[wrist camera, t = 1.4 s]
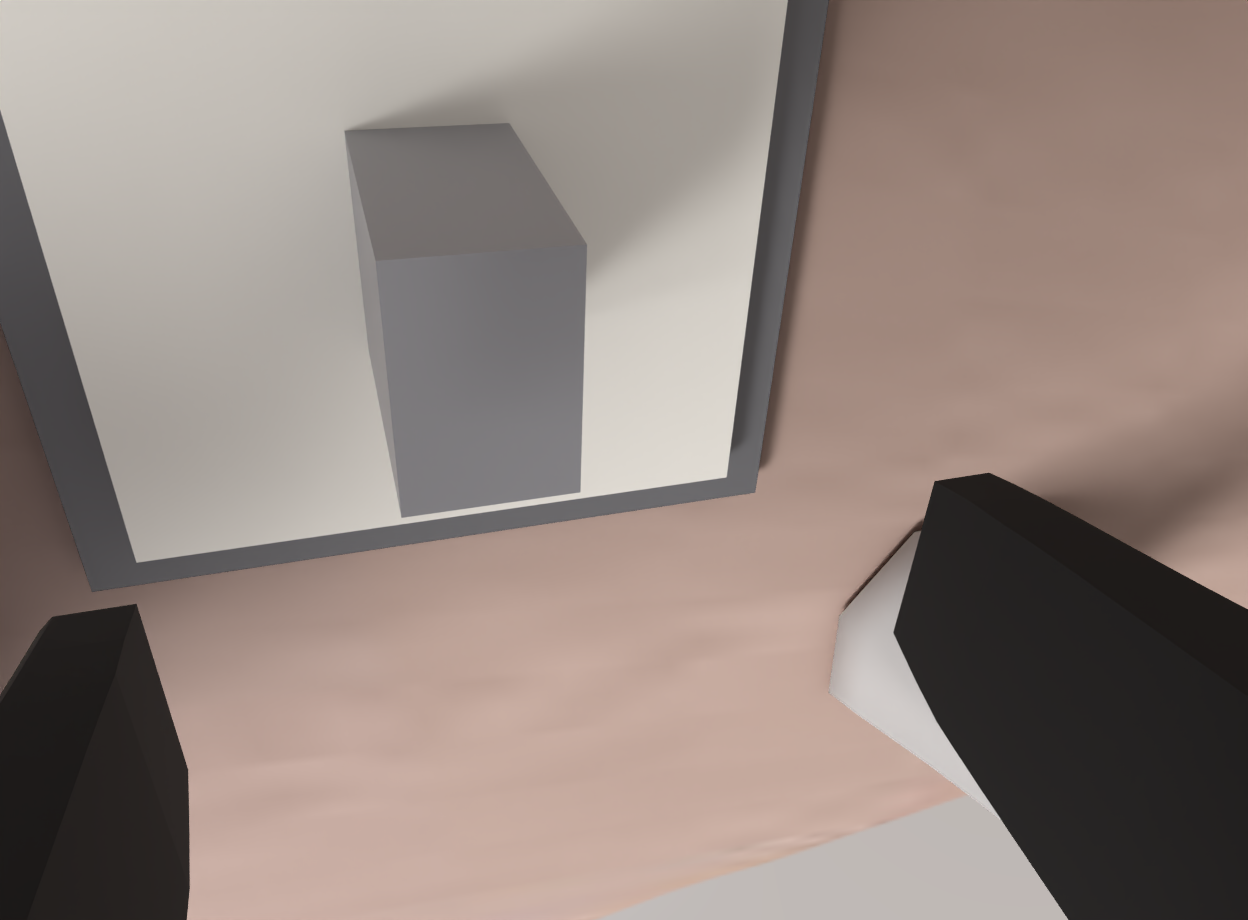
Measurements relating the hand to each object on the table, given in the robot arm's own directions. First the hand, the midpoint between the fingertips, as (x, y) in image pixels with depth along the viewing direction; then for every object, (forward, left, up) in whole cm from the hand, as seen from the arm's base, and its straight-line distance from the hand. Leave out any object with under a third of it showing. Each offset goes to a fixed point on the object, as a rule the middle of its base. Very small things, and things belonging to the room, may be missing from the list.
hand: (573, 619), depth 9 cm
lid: (0, 0, -9) cm, 9 cm away
